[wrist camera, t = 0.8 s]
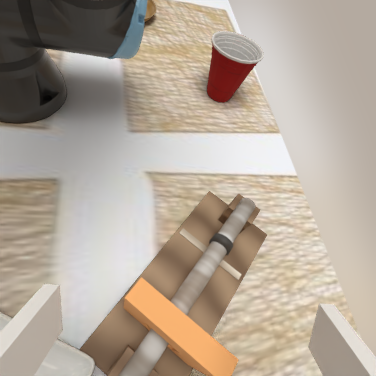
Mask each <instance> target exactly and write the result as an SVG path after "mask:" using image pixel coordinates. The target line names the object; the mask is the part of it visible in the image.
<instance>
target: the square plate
mask: <svg viewBox="0 0 376 376" xmlns="http://www.w3.org/2000/svg"><path fill="white" fill-rule="evenodd" d="M12 319H13V318H11V317H9V316H7V315H5V314H3V313H1V312H0V332H1V331H2V329H3V328H4V327H5V326H6V325H7V324H8V323H9V322H10V321H11V320H12ZM94 368H95V362H94V360H93V359H92V358H91V357H90V356H88V355H87V354H85V353H84V352H82V351H80V350H78V349H76V348H74V347H72V346H70V345H69V344H66V343H64V342H62V341H60V340H58V339H57V340H56V341H55V343H54V344H53V346H52V348H51V349H50V351H49V352H48V354H47V356H46V357H45V359H44V361H43V362H42V364H41V365H40V367H39V369H38V370H37V372H36V373H35V375H34V376H92V373H93V371H94Z"/></svg>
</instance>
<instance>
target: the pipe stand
mask: <svg viewBox="0 0 376 376" xmlns="http://www.w3.org/2000/svg"><path fill="white" fill-rule="evenodd" d="M259 211H260V209H259V208H257V207H256V206H255V204H254V202H253V201H252V200H250V199H248V198H244V197H243V196H241V195H240V194H238V195H237V196H236V197H235V198H234V200H233V201H232V202H231V203H230V204H229V205H227V204H226V203H225V202H223V201H222V200H221V199H219V198H218V197H217V196H215V195H214V194H213V193H211V192H210V191H209V192H208V193H207V195H206V196H205V197H204V198H203V199H202V201H201V202H200V203H199V204H198V206H197V207H196V208H195V209H194V210H193V212H192V213H191V214H190V215H189V217H188V218H187V219H186V220H185V221H184V223H183V224H182V225H181V226H180V228H179V229H178V230H177V231H176V232H175V234H174V235H173V236H172V237H171V238H170V240H169V241H168V242H167V243H166V245H165V246H164V247H163V248H162V249H161V251H160V252H159V253H158V254H157V256H156V257H155V258H154V259H153V260H152V262H151V263H150V264H149V265H148V267H147V268H146V269H145V270H144V271H143V273H142V274H141V275H140V276H139V278H138V279H137V280H136V281H135V282H134V284H133V285H132V286H131V287H130V289H129V290H128V291H127V292H126V293H125V295H124V296H123V297H122V298H121V300H120V301H119V302H118V303H117V304H116V306H115V307H114V308H113V309H112V311H111V312H110V313H109V314H108V315H107V317H106V318H105V319H104V320H103V321H102V323H101V324H100V325H99V326H98V328H97V329H96V330H95V331H94V332H93V334H92V335H91V336H90V337H89V339H88V340H87V341H86V342H85V343H84V345H83V346H82V347H81V348H80V351H82V352H84V353H85V354H87V355H88V356H90V357H91V358H92V359H93V360H94V362H95V365H96V366H97V367H99V368H100V369H101V370H102V371H103V372H104V373H105V374H106V375H107V376H189V375H190V373H191V371H192V369H193V368H192V367H191V366H189V365H187V364H186V363H185V362H184V361H183V360H182V359H181V358H179V357H178V356H177V355H176V354H175V353H174V352H173V351H172V350H170V349H169V348H168V347H167V346H168V344H169V343H168V342H166V341H165V340H164V339H163V338H162V337H161V336H160V335H159V334H157V333H156V332H155V331H154V330H153V329H152V328H151V329H150V331H149V330H148V329H147V328H145V327H144V326H143V325H142V324H141V323H140V322H139V321H138V320H136V319H135V318H134V317H133V316H132V315H131V314H130V313H128V312H127V311H126V310H125V309H124V308H123V307H124V298H125V296H126V295H127V294H128V293H129V292H130V290H131V289H132V288H133V287H134V285H135V284H136V283H137V282H138V281H139V279H140V278H141V277H142V278H143V279H144V280H146V281H147V282H148V283H149V284H150V285H151V286H153V287H154V288H155V289H156V290H157V291H158V292H160V293H161V294H162V295H163V296H164V297H166V298H167V299H168V300H169V301H170V302H171V303H173V304H174V305H175V306H176V307H177V308H178V309H180V310H181V311H182V312H183V313H184V314H185V315H187V316H188V317H189V318H190V319H191V320H193V321H194V322H195V323H196V324H197V325H198V326H200V327H201V328H202V329H203V330H204V331H205V332H207V333H208V334H209V335H210V336H211V335H212V333H213V332H214V330H215V328H216V326H217V324H218V323H219V321H220V319H221V317H222V315H223V314H224V312H225V310H226V308H227V306H228V304H229V303H230V301H231V299H232V297H233V295H234V294H235V292H236V290H237V288H238V286H239V285H240V283H241V281H242V279H243V277H244V276H245V274H246V272H247V270H248V268H249V267H250V265H251V263H252V261H253V259H254V258H255V256H256V254H257V252H258V250H259V249H260V247H261V245H262V243H263V241H264V240H265V238H266V236H267V234H266V233H264V232H263V231H262V230H260V229H259V228H258V227H256V226H255V225H254V224H252V223H253V221H254V219H255V218H256V216H257V215H258V213H259Z"/></svg>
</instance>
